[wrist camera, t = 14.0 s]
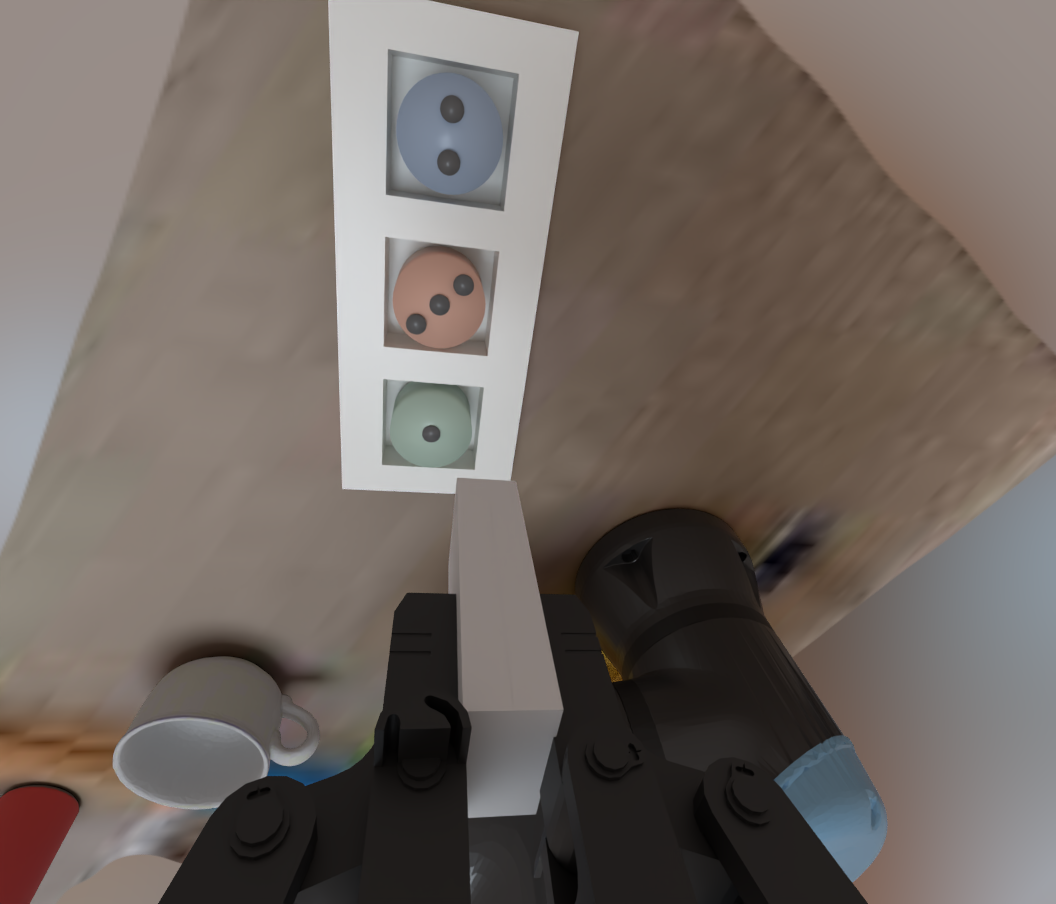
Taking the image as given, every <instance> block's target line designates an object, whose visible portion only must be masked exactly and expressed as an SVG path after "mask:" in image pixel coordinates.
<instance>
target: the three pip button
mask: <svg viewBox="0 0 1056 904" xmlns="http://www.w3.org/2000/svg"><path fill="white" fill-rule="evenodd" d="M485 305H486V303H485V295H484V291H483V287H482V283H481V279H480V276H479V273H478V271H477V269H476V268H475V266H474V265H473V263H472V262H471V261H470V260H469V259H468V258H467V257H466V256H465V255H463V254H462V253H460V252H458V251H456V250H454V249H452V248H449V247H443V246H431V247H427V248H424V249H421V250H419V251H417V252H415V253H414V254H412V255H411V256H410V257H409V258H408V259H407V260H406V261H405V263H404V264H403V266H402V268H401V269H400V272H399V275H398V278H397V281H396V284H395V287H394V292H393V309H394V313H395V316H396V319H397V321H398V323H399V325H400V326H401V328H402V329H403V330H404V332H405V333H406V334H407V335H408V336H409V337H411V338H412V339H413V340H415V341H417V342H418V343H420V344H422V345H425V346H428V347H432V348H450V347H454V346H457V345H460V344H462V343H464V342H465V341H467V340H468V339H470V338H471V337H472V336H473V335H474V334H475V333H476V331H477V330H478V328H479V327H480V325H481V323H482V321H483V318H484V314H485Z"/></svg>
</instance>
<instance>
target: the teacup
mask: <svg viewBox="0 0 1056 904" xmlns="http://www.w3.org/2000/svg"><path fill="white" fill-rule="evenodd" d="M282 718H287V719H290V720H293V721H295V722H297V723H299V724H300V725H301V726H302V727H303V728H304V729H305V730H306V731H307V735H308V736H307V739H306V740H305V742H304V743H303V744H302V745H301V746H299V747H297V748H292V749H289V748H285V747H283V745H282V744H281V734H280V731H279V729H280V724H281V720H282ZM319 739H320V731H319V726H318V723H317V721H316V719H315V718H314V717H313V716H312V715H311V714H310V713H309V712H308V711H306V710H304V709H303V708H301V707H299V706H297V705H295V704H294V703H293V702H292V699H291V698H290V697H289V696H287V695H282V694H281V692H280V689H279V687H278V686H277V684H276V682H275V681H274V680H273V679H272V677H271V676H270V675H269V674H267V673H266V672H265V671H264V670H262V669H261V668H260V667H258V666H257V665H255V664H254V663H252V662H250V661H247V660H244V659H240V658H236V657H229V656H218V657H210V658H202V659H197V660H194V661H191V662H188V663H185V664H183V665H181V666H179V667H177V668H175V669H174V670H172V671H171V672H169V673H168V674H167V675H166V676H165V677H163V678H162V679H161V680H160V682H159V683H158V684H157V685H156V686H155V687H154V689H153V690H152V691H151V693H150V694H149V696H148V697H147V699H146V700H145V702H144V704H143V705H142V707H141V708H140V710H139V712H138V713H137V715H136V717H135V719H134V720H133V722H132V724H131V725H130V727H129V729H128V731H127V733H126V734H125V735H124V736H123V737H122V738H121V740H120V741H119V743H118V744H117V746H116V748H115V751H114V754H113V769H115V772H116V774H117V776H118V778H119V780H120V781H121V782H122V783H123V784H124V785H125V786H126V787H127V788H128V789H130V790H131V791H133V792H134V793H136V794H137V795H139V796H141V797H143V798H145V799H147V800H150V801H153V802H155V803H158V804H161V805H165V806H169V807H176V808H182V809H210V808H216V807H219V806H220V804H221V803H222V802H223V801H224V800H225V798H226V797H228V796H229V795H230V794H232V793H233V792H235V791H236V790H238V789H239V788H240V787H242V786H243V785H245V784H246V783H249V782H252V781H255V780H258V779H261V778H263V777H266V776H267V774H268V770H269V763H270V760H273V761H275V762H276V763H278V764H281V765H283V766H294V765H298V764H300V763H303V762H304V761H306V760H307V759H308V758H309V757H310V756H311V755H312V754H313V753H314V752H315V750H316V748H317V746H318V743H319Z"/></svg>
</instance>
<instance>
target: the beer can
mask: <svg viewBox="0 0 1056 904" xmlns="http://www.w3.org/2000/svg"><path fill="white" fill-rule="evenodd" d="M78 812H79V805H78V801H77V800H76V799H75V798H74V796H73V795H72V794H70V793H68V792H67V791H65V790H62V789H59V788H57V787H52V786H46V785H30V786H23V787H19V788H16V789H13V790H11V791H9V792H7V793H6V794H5V795H3V796H2V797H1V798H0V904H30V902H31V900H32V898H33V896H34V895H35V893H36V891H37V889H38V887H39V885H40V883H41V881H42V880H43V878H44V876H45V874H46V872H47V870H48V868H49V867H50V865H51V863H52V861H53V859H54V857H55V855H56V853H57V852H58V850H59V848H60V846H61V844H62V842H63V840H64V838H65V837H66V835H67V833H68V831H69V829H70V827H71V825H72V824H73V822H74V820H75V818H76V816H77V814H78Z"/></svg>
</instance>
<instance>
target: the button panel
mask: <svg viewBox="0 0 1056 904" xmlns="http://www.w3.org/2000/svg"><path fill="white" fill-rule="evenodd" d="M328 9H329V44H330V78H331V113H332V148H333V183H334V217H335V252H336V287H337V322H338V356H339V391H340V426H341V460H342V489H356V490H379V491H402V492H425V493H448V494H455V492H456V482H457V478H473V479H490V480H507V481H510V480H511V473H512V467H513V460H514V454H515V447H516V440H517V434H518V427H519V421H520V414H521V408H522V401H523V395H524V388H525V381H526V375H527V368H528V362H529V355H530V349H531V342H532V336H533V329H534V323H535V316H536V309H537V303H538V296H539V290H540V283H541V277H542V270H543V264H544V257H545V250H546V244H547V237H548V231H549V224H550V218H551V211H552V205H553V198H554V191H555V185H556V178H557V172H558V165H559V159H560V152H561V146H562V139H563V132H564V126H565V119H566V113H567V106H568V100H569V93H570V87H571V80H572V74H573V67H574V60H575V54H576V47H577V41H578V34H579V32H578V31H573V30H568V29H563V28H559V27H554V26H549V25H544V24H539V23H535V22H530V21H525V20H520V19H515V18H511V17H506V16H501V15H496V14H491V13H487V12H482V11H477V10H472V9H467V8H463V7H458V6H453V5H448V4H443V3H439V2H434V1H429V0H328ZM446 72H448V73H455V74H459V75H463V76H465V77H467V78H469V79H471V80H473V81H474V82H476V83H477V84H478V85H479V86H481V87H482V88H483V89H484V90H485V91H486V92H487V94H488V95H489V96H490V98H491V99H492V101H493V103H494V104H495V106H496V108H497V111H498V113H499V116H500V119H501V123H502V129H503V147H502V153H501V156H500V160H499V162H498V164H497V167H496V169H495V170H494V172H493V174H492V175H491V176H490V177H489V179H488V180H487V181H486V182H485V183H484V184H482V185H481V186H480V187H478V188H476V189H475V190H473V191H470V192H468V193H464V194H458V195H449V194H443V193H439V192H436V191H433V190H432V189H430V188H428V187H426V186H425V185H423V184H422V183H421V182H420V181H418V180H417V179H416V178H415V177H414V175H413V174H412V173H411V172H410V170H409V169H408V168H407V166H406V164H405V162H404V160H403V158H402V156H401V153H400V150H399V147H398V142H397V135H396V125H397V117H398V112H399V109H400V106H401V103H402V101H403V99H404V97H405V96H406V94H407V93H408V91H409V90H410V89H411V88H412V87H413V86H414V85H415V84H416V83H417V82H419V81H420V80H422V79H423V78H425V77H427V76H430V75H432V74H437V73H446ZM431 246H443V247H449V248H452V249H454V250H456V251H458V252H460V253H462V254H463V255H465V256H466V257H467V258H468V259H469V260H470V261H471V262H472V263H473V265H474V266H475V268H476V269H477V271H478V273H479V276H480V279H481V283H482V287H483V291H484V295H485V303H486V305H485V314H484V318H483V321H482V323H481V325H480V327H479V328H478V330H477V331H476V333H475V334H474V335H473V336H472V337H471V338H470V339H468V340H467V341H465V342H464V343H462V344H460V345H457V346H454V347H450V348H432V347H428V346H425V345H422V344H420V343H418V342H417V341H415V340H413V339H412V338H411V337H409V336H408V335H407V334H406V333H405V332H404V330H403V329H402V328H401V326H400V325H399V323H398V321H397V319H396V316H395V313H394V309H393V292H394V287H395V284H396V281H397V278H398V275H399V272H400V269H401V268H402V266H403V264H404V263H405V261H406V260H407V259H408V258H409V257H410V256H411V255H412V254H414V253H415V252H417V251H419V250H421V249H424V248H427V247H431ZM411 381H413V382H425V383H438V384H450V385H457V386H458V387H459V388H460V389H461V390H462V391H463V392H464V393H465V395H466V397H467V399H468V401H469V405H470V414H471V425H472V438H471V442H470V445H469V447H468V449H467V450H466V452H465V453H464V454H463V455H462V456H461V457H460V458H459V459H457V460H456V461H454V462H453V463H450V464H448V465H445V466H441V467H422V466H418V465H415V464H413V463H411V462H409V461H407V460H406V459H404V458H403V457H402V456H401V455H400V454H399V453H398V452H397V451H396V449H395V448H394V446H393V444H392V441H391V438H390V424H391V419H392V413H393V408H394V403H395V399H396V397H397V395H398V393H399V392H400V391H401V389H402V388H403V387H404V386H405V385H407V384H408V383H410V382H411Z"/></svg>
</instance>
